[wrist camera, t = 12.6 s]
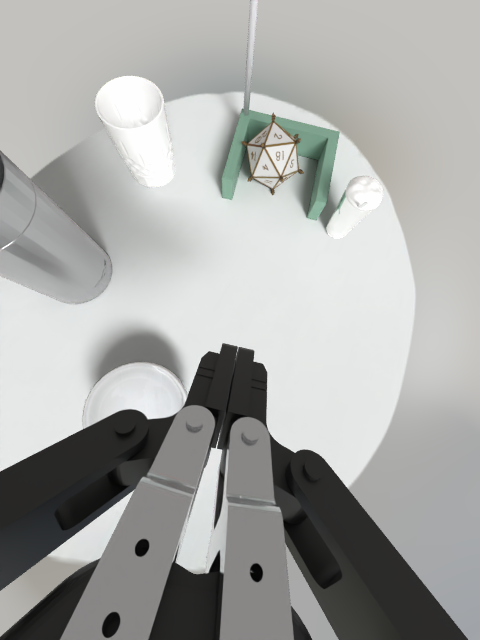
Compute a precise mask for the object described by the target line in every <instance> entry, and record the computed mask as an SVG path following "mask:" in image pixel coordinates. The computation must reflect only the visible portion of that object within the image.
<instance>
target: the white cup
mask: <svg viewBox="0 0 480 640" xmlns="http://www.w3.org/2000/svg"><path fill="white" fill-rule="evenodd" d="M95 109H96V112H97V114H98V116H99V118H100V119H101V121H102V123H103V125H104V127H105V128H106V130H107V132H108V134H109V136H110V137H111V139H112V141H113V143H114V145H115V146H116V148H117V150H118V152H119V153H120V155H121V157H122V159H123V160H124V162H125V164H126V165H127V166H128V168H129V170H130V172H131V174H132V175H133V177H134V178H135V179H136V180H137V181H138V183H139V184H141V185H144V186H146V187H161V186H163V185H165V184H168V183H169V181H170V180H171V179H172V178H173V177H174V174H175V170H176V167H175V162H174V157H173V148H172V141H171V135H170V130H169V125H168V120H167V115H166V110H165V105H164V100H163V96H162V93H161V91H160V90H159V88H158V87H157V86H156V85H155V84H154V83H152V82H151V81H149V80H147V79H145V78H141V77H137V76H122V77H118V78H115V79H112V80H110V81H109V82H107V83H106V84H104V85H103V86H102V87H101V88H100V90H99V91H98V93H97V95H96V99H95Z"/></svg>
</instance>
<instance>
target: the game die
mask: <svg viewBox="0 0 480 640" xmlns="http://www.w3.org/2000/svg"><path fill="white" fill-rule="evenodd" d="M271 117H272V122H271V123H270V124H269V125H268V126H267V127H265V128H264V129H263V130H262V131H261V132H260V133H259V134H257V135H256V136H255V137H254V138H253V139H252V140H251V141H250V142H248V143H246V142H245V141H241V142H242V144H243V145H244V146H247V152H248V159H249V165H250V171H251V177H249V178H248V181H251V180H252V178H253V179H255V180H257V181H259V182H260V183H262V184H264V185H266V186H268V187H269V188H271V189H272V191H271V193H272V195H273V194H274V193H275V192H274V189H275V188H276V187H277V186H279V185H280V184H281V183H283V182H284V181H285V180H287V179H288V178H290V177H291V176H292V175H294V174H295V173H296V172H299V173H300V174H302V173H303V171H302V170H301V169H299V166H298V155H297V144H298V143H300V140H301V139H300V138H298V135H299V134H295V135H294V137H293V136H292V135H291V134H290V133H288V132H287V131H286V130H285V129H283V128H282V127H281V126H280V125H278V124H277V123H276V122H275V115H274V113H273V114H272V116H271ZM295 139H296V140H295Z"/></svg>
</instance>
